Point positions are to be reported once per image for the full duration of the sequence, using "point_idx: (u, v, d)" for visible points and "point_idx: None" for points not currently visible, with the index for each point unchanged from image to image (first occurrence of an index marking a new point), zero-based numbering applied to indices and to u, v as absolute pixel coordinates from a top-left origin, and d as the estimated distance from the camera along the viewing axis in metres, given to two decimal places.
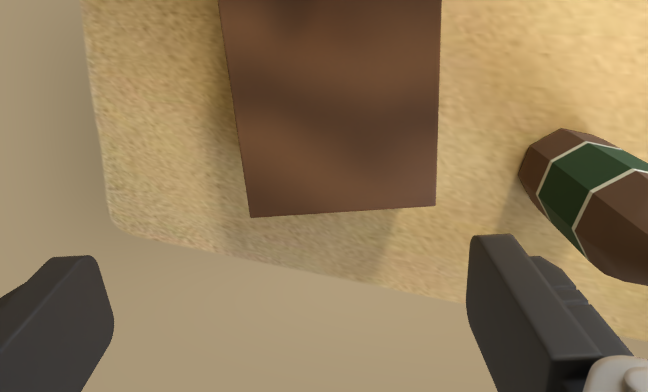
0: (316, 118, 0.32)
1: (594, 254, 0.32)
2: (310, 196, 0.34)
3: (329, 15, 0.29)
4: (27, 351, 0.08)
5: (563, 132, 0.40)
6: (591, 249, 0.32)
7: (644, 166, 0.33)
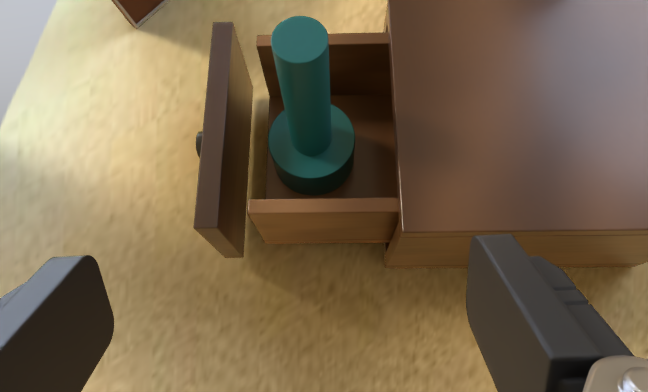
0: (566, 124, 0.24)
1: None
2: None
3: (435, 104, 0.24)
4: (27, 351, 0.08)
5: None
6: None
7: None
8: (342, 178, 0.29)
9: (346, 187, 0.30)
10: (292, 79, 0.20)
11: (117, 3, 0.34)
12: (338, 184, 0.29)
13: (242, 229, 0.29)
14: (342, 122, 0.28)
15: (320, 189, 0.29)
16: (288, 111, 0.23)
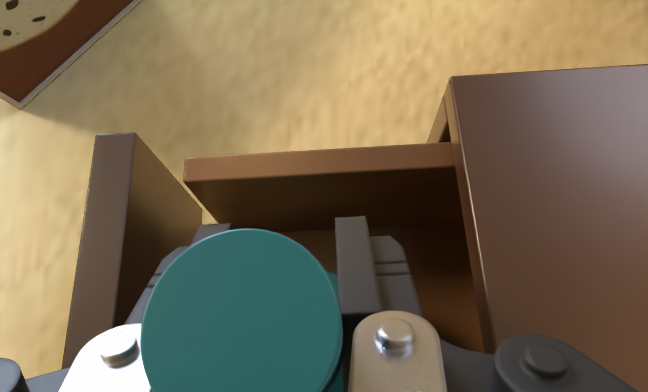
0: None
1: None
2: None
3: (590, 338, 0.10)
4: None
5: None
6: None
7: None
8: None
9: None
10: None
11: None
12: None
13: None
14: None
15: None
16: None
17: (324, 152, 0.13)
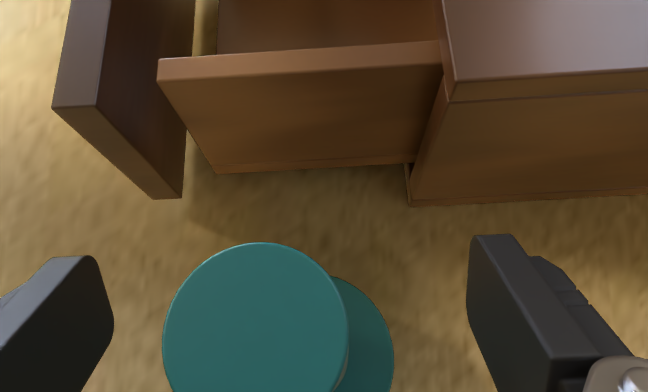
0: None
1: None
2: None
3: None
4: (27, 351, 0.08)
5: None
6: None
7: None
8: None
9: None
10: None
11: None
12: None
13: (177, 152, 0.18)
14: (367, 321, 0.15)
15: None
16: None
17: None
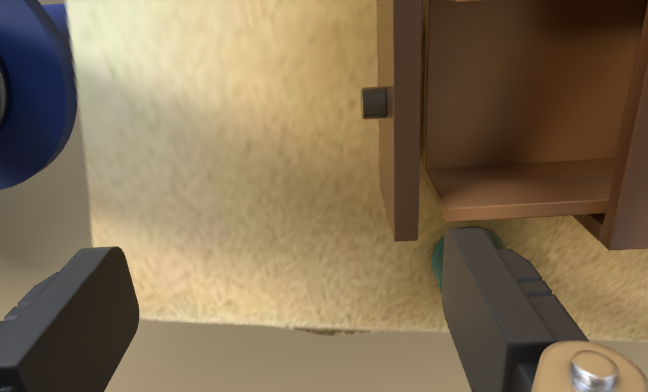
0: None
1: None
2: None
3: None
4: (65, 336, 0.08)
5: None
6: None
7: None
8: None
9: (517, 119, 0.27)
10: None
11: None
12: None
13: None
14: None
15: None
16: None
17: None
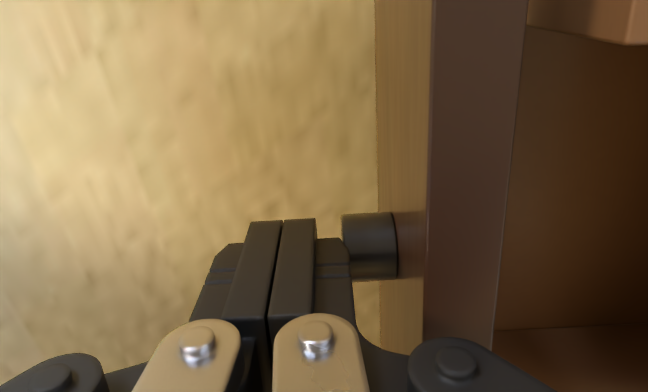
0: None
1: None
2: None
3: None
4: None
5: None
6: None
7: None
8: None
9: (646, 250, 0.14)
10: None
11: None
12: None
13: None
14: None
15: None
16: None
17: None
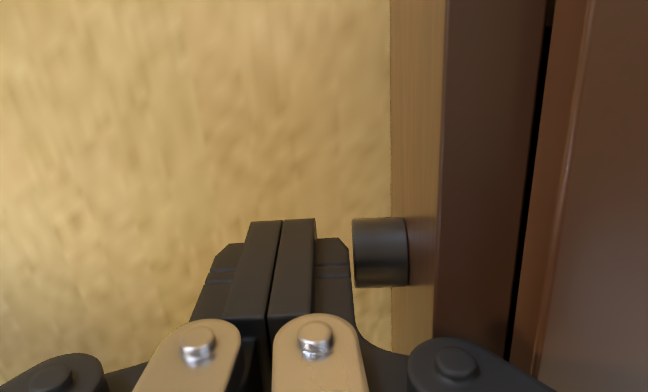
0: None
1: None
2: None
3: None
4: None
5: None
6: None
7: None
8: None
9: None
10: None
11: None
12: None
13: None
14: None
15: None
16: None
17: None
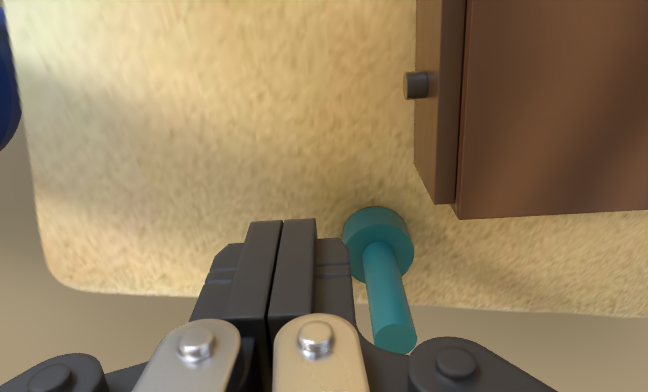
0: (631, 116, 0.24)
1: None
2: None
3: (507, 99, 0.24)
4: None
5: None
6: None
7: None
8: None
9: None
10: None
11: None
12: None
13: None
14: (404, 242, 0.34)
15: None
16: None
17: None
